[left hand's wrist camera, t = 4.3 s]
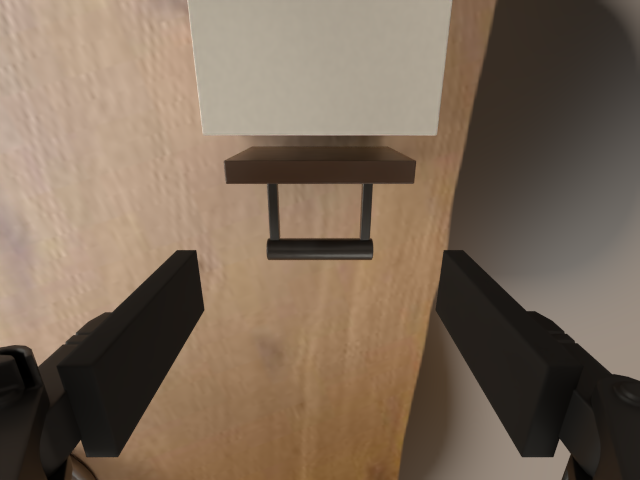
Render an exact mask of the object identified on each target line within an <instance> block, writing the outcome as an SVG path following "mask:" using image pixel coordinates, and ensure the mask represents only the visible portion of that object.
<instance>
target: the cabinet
mask: <svg viewBox="0 0 640 480" xmlns="http://www.w3.org/2000/svg"><path fill="white" fill-rule="evenodd" d="M187 1H188V10H189V18H190V27H191V36H192V44H193V53H194V62H195V70H196V79H197V88H198V96H199V105H200V114H201V122H202V131H203V135H437V130H438V121H439V113H440V104H441V95H442V87H443V78H444V69H445V61H446V52H447V43H448V35H449V26H450V17H451V9H452V0H187Z"/></svg>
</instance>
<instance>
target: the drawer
mask: <svg viewBox="0 0 640 480" xmlns="http://www.w3.org/2000/svg"><path fill="white" fill-rule="evenodd" d="M415 167H416V161H415V160H413V159H411V158H409V157H407V156H405V155H403V154H401V153H399V152H397V151H395V150H393V149H391V148H389V147H251V148H249V149H247V150H245V151H243V152H241V153H239V154H237V155H235V156H233V157H231V158H229V159H227V160H225V161H224V169H225V179H226V184H267V191H268V210H269V228H270V238H269V239H268V240H267V258H268V260H372V258H373V241H372V239H371V238H370V225H371V207H372V189H373V184H413V183H414V178H415ZM278 184H362V194H361V217H360V238H280V220H279V197H278Z"/></svg>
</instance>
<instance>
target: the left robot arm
mask: <svg viewBox="0 0 640 480" xmlns="http://www.w3.org/2000/svg"><path fill="white" fill-rule="evenodd" d="M203 312H204V303H203V296H202V289H201V281H200V274H199V267H198V260H197V252H196V250H177V251H176V252H175V253H174V254H173V255H172V256H171V257H170V258H168V259H167V260H166V261H165V262H164V263H163V264H162V265H161V266H160V267H159V268H158V269H157V270H156V271H155V272H154V273H153V274H152V275H151V276H150V277H149V278H148V279H147V280H146V281H144V282H143V283H142V284H141V285H140V286H139V287H138V288H137V289H136V290H135V291H134V292H133V293H132V294H131V295H130V296H129V297H128V298H127V299H126V300H125V301H124V302H123V303H122V304H120V305H119V306H118V307H117V308H116V309H115V310H114V311H113V312H105V313H103V314H102V315H100V316H98V317H96V318H94V319H93V320H91V321H89V322H88V323H86V324H85V325H84V326H83V327H82V328H81V329H80V330H79V331H78V332H76V335H73V336H72V337H71V338H70V339H69V340H68V341H66V344H65V345H62V346H61V347H60V348H59V349H58V350H56V351H55V352H54V353H53V354H52V355H51V356H50V357H49V358H48V359H46V360H45V361H44V362H43V363H42V364H41V365H40V366H39V367H38V366H37V363H36V360H35V358H34V355H33V352H32V349H30V348H28V347H27V346H20V345H13V346H7V347H1V348H0V480H96V479H95V478H94V476H93V475H92V474H91V472H90V471H89V470H88V469H87V468H86V467H85V466H84V465H83V464H81V463H80V462H79V461H77V460H76V459H75V458H73V457H72V456H70V454H71V452H72V451H73V450H74V448H75V447H76V445H77V444H78V443H79V441H80V440H81V442H82V445H83V448H84V451H85V454H86V457H118V456H119V455H120V453H121V451H122V450H123V448H124V446H125V444H126V443H127V441H128V439H129V438H130V436H131V434H132V432H133V431H134V429H135V427H136V426H137V424H138V422H139V421H140V419H141V417H142V415H143V414H144V412H145V410H146V409H147V407H148V405H149V404H150V402H151V400H152V398H153V397H154V395H155V393H156V392H157V390H158V388H159V387H160V385H161V383H162V381H163V380H164V378H165V376H166V375H167V373H168V371H169V369H170V368H171V366H172V364H173V363H174V361H175V359H176V358H177V356H178V354H179V352H180V351H181V349H182V347H183V346H184V344H185V342H186V341H187V339H188V337H189V335H190V334H191V332H192V330H193V329H194V327H195V325H196V324H197V322H198V320H199V318H200V317H201V315H202V313H203ZM436 312H437V313H438V315H439V317H440V318H441V320H442V322H443V324H444V325H445V327H446V329H447V330H448V332H449V334H450V335H451V337H452V339H453V341H454V342H455V344H456V346H457V347H458V349H459V351H460V352H461V354H462V356H463V358H464V359H465V361H466V363H467V364H468V366H469V368H470V370H471V371H472V373H473V375H474V376H475V378H476V380H477V381H478V383H479V385H480V387H481V388H482V390H483V392H484V393H485V395H486V397H487V398H488V400H489V402H490V404H491V405H492V407H493V409H494V410H495V412H496V414H497V415H498V417H499V419H500V421H501V422H502V424H503V426H504V427H505V429H506V431H507V432H508V434H509V436H510V438H511V439H512V441H513V443H514V444H515V446H516V448H517V450H518V451H519V453H520V455H521V456H522V457H554V453H555V450H556V447H557V444H558V441H559V439H560V440H561V441H562V442H563V444H564V445H565V446H566V448H567V449H568V450H569V452H570V453H571V455H570V458H569V461H568V464H567V466H566V469H565V472H564V475H563V477H562V480H640V381H638V380H635V379H633V378H630V377H626V376H621V375H616V374H611V373H610V372H609V371H608V370H607V369H606V368H604V367H603V366H602V365H601V364H600V363H599V362H598V361H597V360H595V359H594V358H593V357H592V356H591V355H590V354H589V353H588V352H587V351H585V350H584V349H583V348H582V347H581V346H580V345H579V344H577V343H575V341H574V340H573V339H572V338H571V337H570V336H569V335H568V334H565V333H564V331H563V330H562V329H561V328H560V327H559V326H557V325H556V324H555V323H554V322H553V321H552V320H550V319H548V318H546V317H544V316H543V315H541V314H539V313H537V312H535V311H526V310H525V309H524V308H523V307H522V306H521V305H520V304H518V303H517V302H516V301H515V300H514V299H513V298H512V297H511V296H510V295H509V294H508V293H507V292H506V291H505V290H504V289H503V288H502V287H501V286H500V285H499V284H498V283H497V282H496V281H494V280H493V279H492V278H491V277H490V276H489V275H488V274H487V273H486V272H485V271H484V270H483V269H482V268H481V267H480V266H479V265H478V264H477V263H476V262H475V261H474V260H473V259H472V258H470V257H469V256H468V255H467V254H466V253H465V252H464V251H463V250H444V252H443V260H442V267H441V274H440V281H439V289H438V297H437V303H436Z"/></svg>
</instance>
